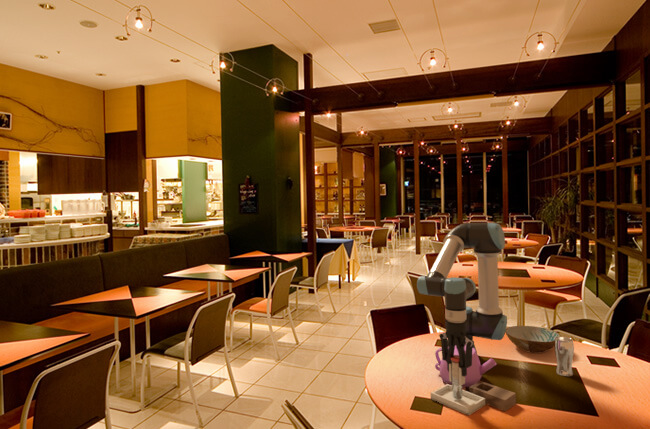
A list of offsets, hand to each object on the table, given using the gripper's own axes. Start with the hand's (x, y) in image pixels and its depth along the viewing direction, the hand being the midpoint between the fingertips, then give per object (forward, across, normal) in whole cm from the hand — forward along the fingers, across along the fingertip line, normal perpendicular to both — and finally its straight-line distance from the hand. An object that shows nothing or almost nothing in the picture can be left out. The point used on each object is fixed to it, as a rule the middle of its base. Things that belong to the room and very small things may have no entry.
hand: (457, 382), depth 150 cm
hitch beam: (+8, +8, +10) cm, 15 cm away
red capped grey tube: (+6, 0, 0) cm, 6 cm away
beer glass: (+8, +16, +55) cm, 58 cm away
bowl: (+8, -5, +74) cm, 75 cm away
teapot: (+8, -9, +20) cm, 23 cm away
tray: (+8, 0, 0) cm, 8 cm away
